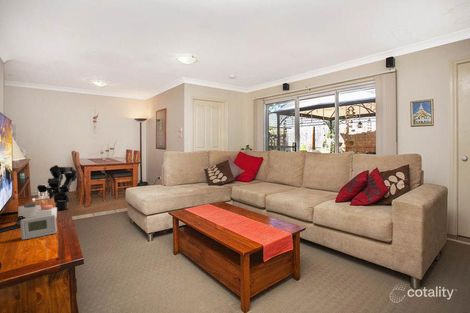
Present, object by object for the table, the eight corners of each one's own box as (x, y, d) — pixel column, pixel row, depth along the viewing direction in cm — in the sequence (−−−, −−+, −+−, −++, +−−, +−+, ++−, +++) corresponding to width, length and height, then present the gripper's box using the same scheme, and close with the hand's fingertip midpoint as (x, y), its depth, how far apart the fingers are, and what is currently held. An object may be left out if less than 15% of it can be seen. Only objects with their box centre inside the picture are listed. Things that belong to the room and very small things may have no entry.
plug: (32, 213, 178) (32, 202, 178) (37, 214, 175) (37, 203, 175) (21, 215, 172) (21, 204, 172) (27, 217, 170) (27, 205, 169)
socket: (32, 213, 180) (33, 204, 179) (40, 215, 176) (40, 205, 176) (18, 216, 171) (18, 206, 171) (26, 218, 168) (26, 208, 168)
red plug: (42, 216, 170) (43, 204, 170) (53, 216, 172) (54, 204, 172) (38, 218, 164) (38, 207, 164) (49, 218, 166) (50, 206, 166)
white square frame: (41, 217, 171) (41, 207, 171) (56, 217, 174) (56, 207, 174) (35, 221, 163) (35, 210, 162) (51, 220, 165) (51, 210, 165)
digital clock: (19, 241, 129) (20, 221, 129) (19, 236, 136) (20, 217, 136) (57, 235, 140) (58, 216, 140) (55, 231, 147) (56, 213, 146)
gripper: (38, 173, 175) (30, 192, 165) (68, 174, 180) (62, 191, 170) (43, 183, 183) (35, 201, 173) (72, 183, 188) (66, 200, 178)
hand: (50, 198), depth 173 cm, fingers closed
